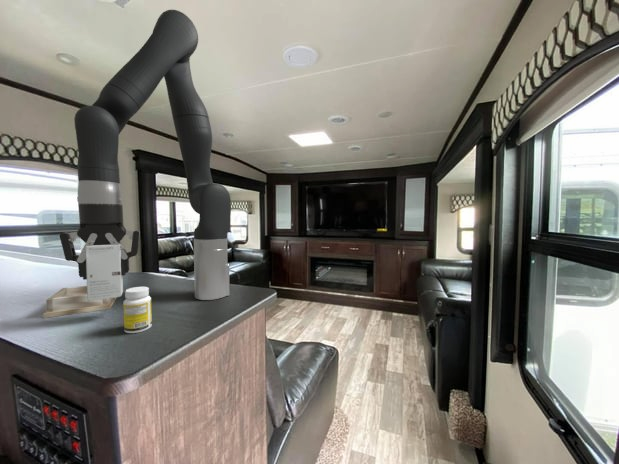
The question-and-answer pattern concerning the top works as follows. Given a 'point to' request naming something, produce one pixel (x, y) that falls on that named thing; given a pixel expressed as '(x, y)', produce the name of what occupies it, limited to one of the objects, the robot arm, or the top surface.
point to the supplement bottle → (137, 310)
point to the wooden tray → (74, 302)
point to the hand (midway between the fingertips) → (105, 276)
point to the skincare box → (103, 272)
